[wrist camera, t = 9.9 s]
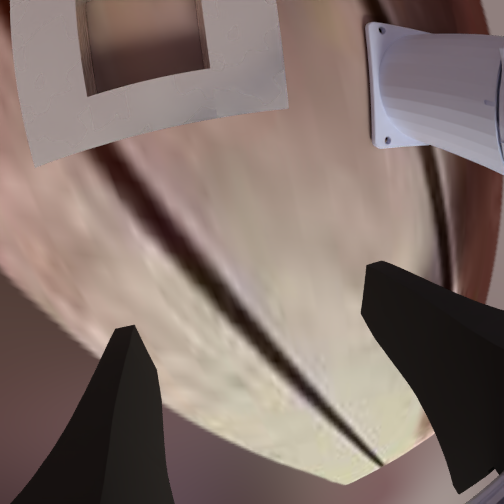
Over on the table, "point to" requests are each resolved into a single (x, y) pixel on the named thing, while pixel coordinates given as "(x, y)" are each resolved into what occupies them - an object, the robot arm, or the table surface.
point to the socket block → (146, 92)
